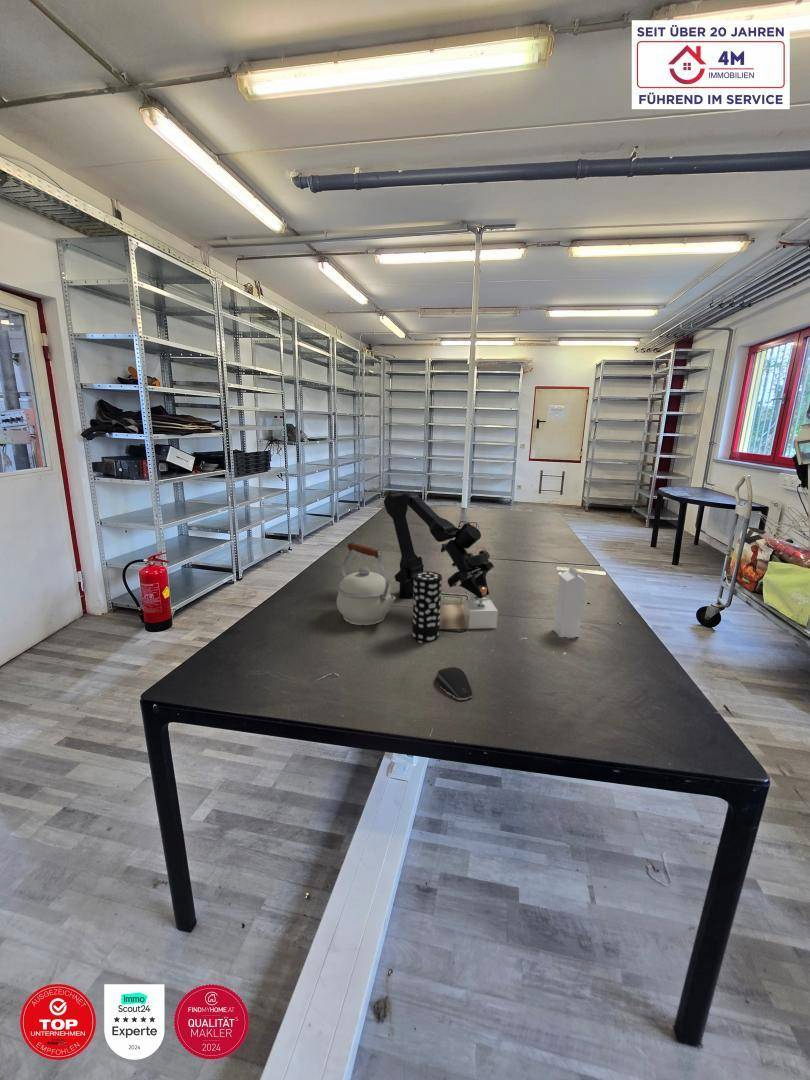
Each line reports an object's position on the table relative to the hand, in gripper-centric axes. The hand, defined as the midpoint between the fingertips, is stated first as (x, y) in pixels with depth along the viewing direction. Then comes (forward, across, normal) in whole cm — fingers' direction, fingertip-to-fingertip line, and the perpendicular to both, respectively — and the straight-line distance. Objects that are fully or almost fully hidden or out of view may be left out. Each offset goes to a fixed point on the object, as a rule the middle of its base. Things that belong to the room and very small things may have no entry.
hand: (484, 596), depth 142 cm
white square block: (+6, 0, +8) cm, 10 cm away
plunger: (+4, 0, +6) cm, 7 cm away
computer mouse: (+19, -34, -4) cm, 39 cm away
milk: (+23, +14, -8) cm, 28 cm away
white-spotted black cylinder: (+2, -20, +12) cm, 24 cm away
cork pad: (+1, 0, +13) cm, 13 cm away
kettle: (-14, -25, +28) cm, 40 cm away
